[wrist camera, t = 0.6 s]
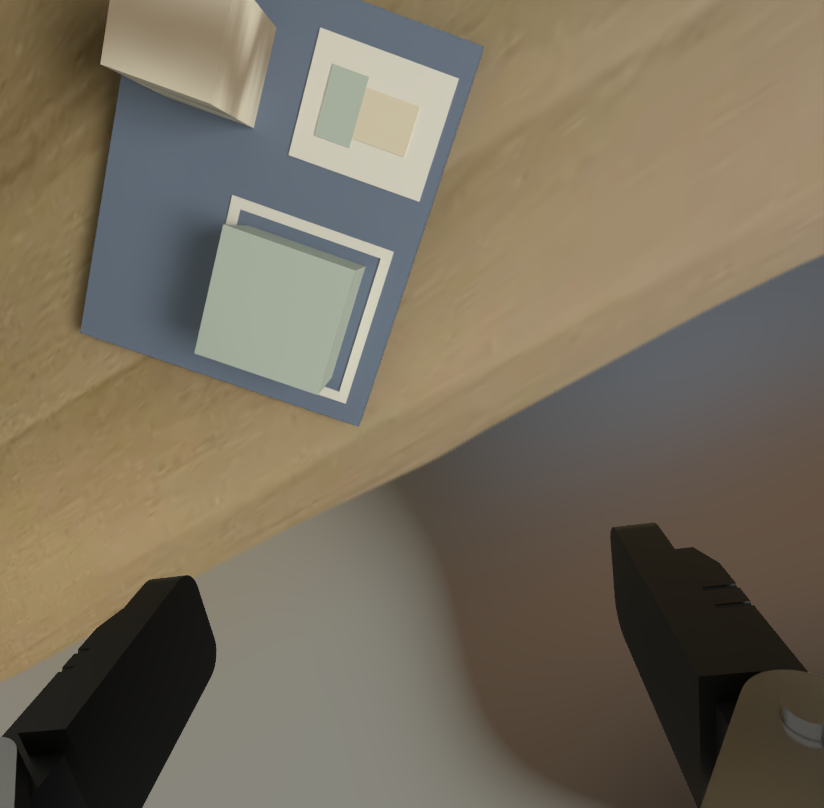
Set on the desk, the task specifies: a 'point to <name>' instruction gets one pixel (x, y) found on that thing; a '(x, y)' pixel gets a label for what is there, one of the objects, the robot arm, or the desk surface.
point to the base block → (277, 307)
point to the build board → (282, 185)
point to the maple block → (193, 51)
